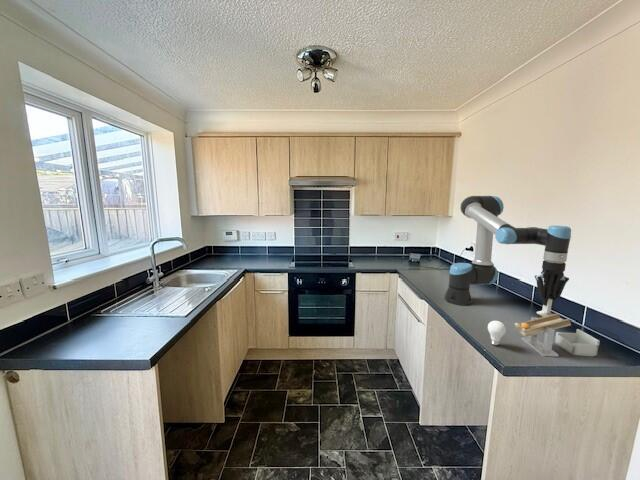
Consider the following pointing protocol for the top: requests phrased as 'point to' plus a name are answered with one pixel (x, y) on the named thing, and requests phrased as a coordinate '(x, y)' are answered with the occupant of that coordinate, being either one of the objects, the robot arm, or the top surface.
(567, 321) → the lever
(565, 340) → the tray
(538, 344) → the stand
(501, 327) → the light bulb
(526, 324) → the ball
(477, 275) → the robot arm
